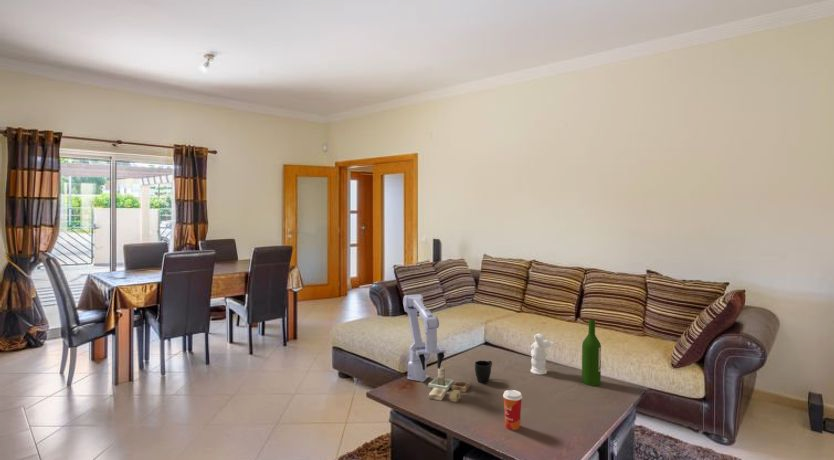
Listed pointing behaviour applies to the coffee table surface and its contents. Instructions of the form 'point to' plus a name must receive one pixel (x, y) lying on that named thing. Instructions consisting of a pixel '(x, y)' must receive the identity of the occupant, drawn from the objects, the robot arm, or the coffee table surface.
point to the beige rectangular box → (437, 393)
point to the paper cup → (512, 409)
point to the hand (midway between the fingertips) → (431, 368)
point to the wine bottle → (591, 357)
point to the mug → (483, 371)
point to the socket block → (460, 386)
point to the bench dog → (455, 395)
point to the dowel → (441, 376)
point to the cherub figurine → (539, 354)
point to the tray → (435, 385)
